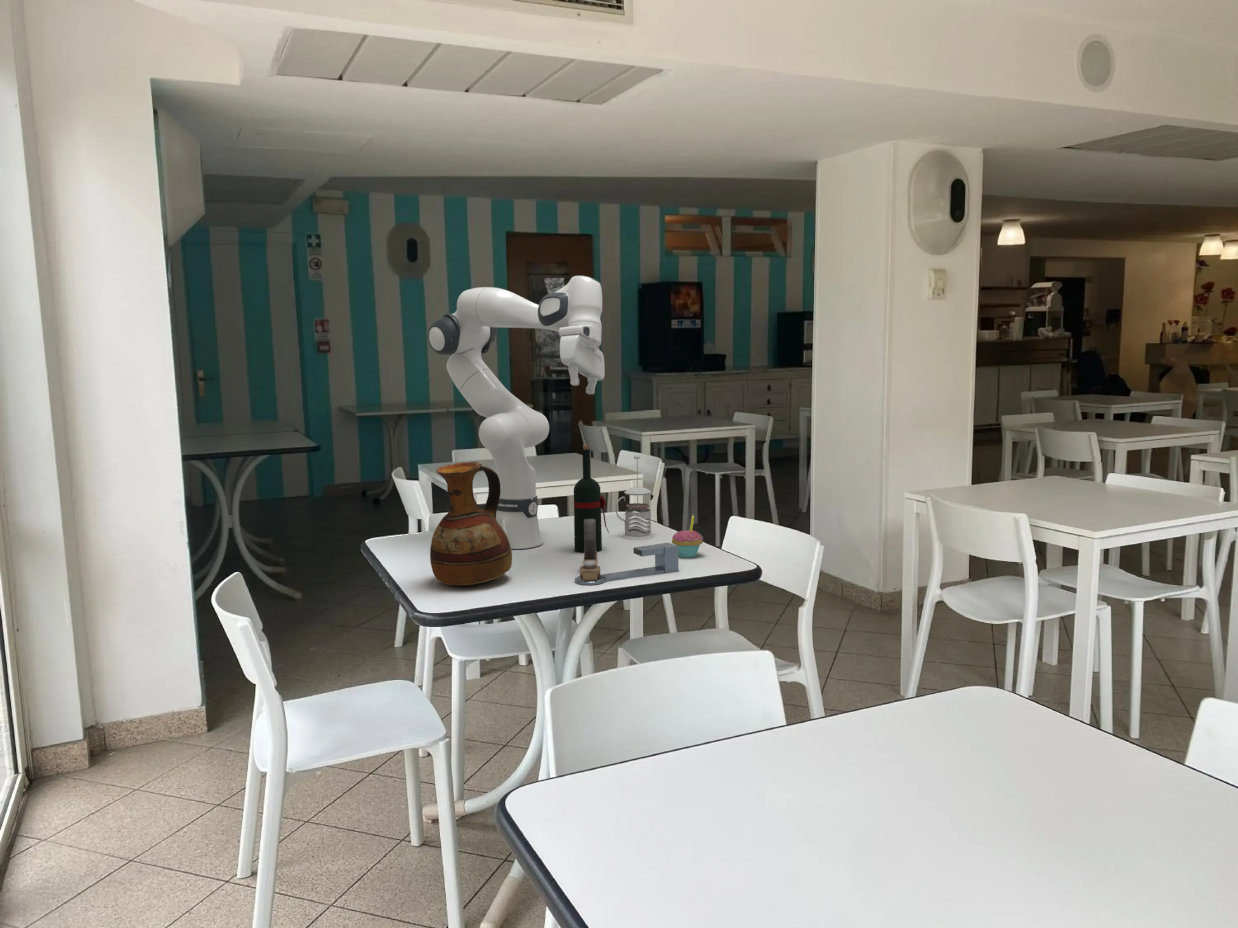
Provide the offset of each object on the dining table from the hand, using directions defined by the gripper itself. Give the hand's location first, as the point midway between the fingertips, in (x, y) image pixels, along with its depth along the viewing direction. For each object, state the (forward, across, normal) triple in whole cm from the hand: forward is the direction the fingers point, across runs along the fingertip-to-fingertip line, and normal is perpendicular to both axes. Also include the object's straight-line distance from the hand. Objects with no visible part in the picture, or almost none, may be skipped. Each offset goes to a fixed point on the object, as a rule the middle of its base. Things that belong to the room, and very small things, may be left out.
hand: (582, 389), depth 237 cm
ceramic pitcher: (+49, +8, -25) cm, 56 cm away
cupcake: (+40, -34, +17) cm, 55 cm away
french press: (+33, -52, -5) cm, 62 cm away
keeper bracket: (+47, -9, +10) cm, 49 cm away
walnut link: (+45, -8, 0) cm, 46 cm away
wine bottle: (+38, -32, -10) cm, 51 cm away
